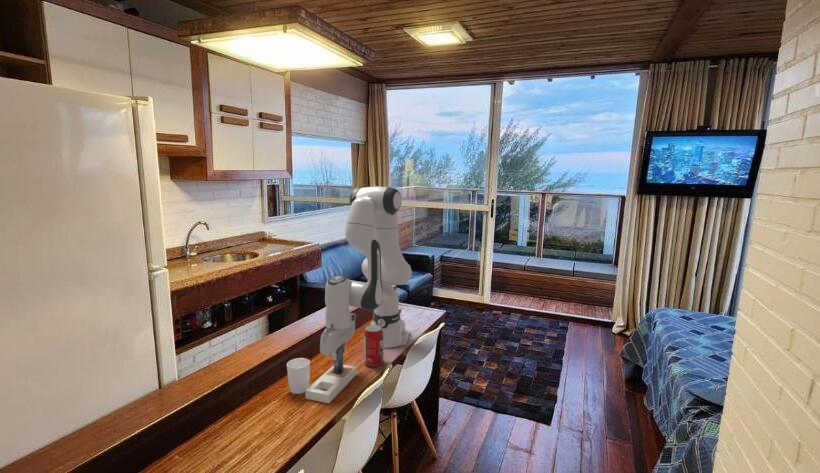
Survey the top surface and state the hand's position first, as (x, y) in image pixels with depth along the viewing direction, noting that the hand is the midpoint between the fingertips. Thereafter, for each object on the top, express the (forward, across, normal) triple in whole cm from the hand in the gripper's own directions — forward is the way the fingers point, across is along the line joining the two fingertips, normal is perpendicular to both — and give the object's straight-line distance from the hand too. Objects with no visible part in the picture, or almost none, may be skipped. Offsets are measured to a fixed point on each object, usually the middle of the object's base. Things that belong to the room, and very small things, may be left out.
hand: (338, 356), depth 151 cm
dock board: (+9, -5, 0) cm, 10 cm away
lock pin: (+6, 0, 0) cm, 6 cm away
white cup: (+9, -11, +10) cm, 17 cm away
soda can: (+9, +16, -7) cm, 20 cm away
